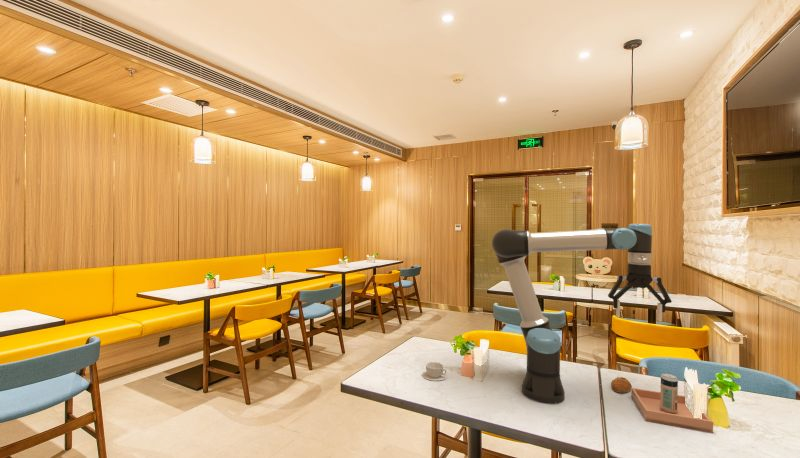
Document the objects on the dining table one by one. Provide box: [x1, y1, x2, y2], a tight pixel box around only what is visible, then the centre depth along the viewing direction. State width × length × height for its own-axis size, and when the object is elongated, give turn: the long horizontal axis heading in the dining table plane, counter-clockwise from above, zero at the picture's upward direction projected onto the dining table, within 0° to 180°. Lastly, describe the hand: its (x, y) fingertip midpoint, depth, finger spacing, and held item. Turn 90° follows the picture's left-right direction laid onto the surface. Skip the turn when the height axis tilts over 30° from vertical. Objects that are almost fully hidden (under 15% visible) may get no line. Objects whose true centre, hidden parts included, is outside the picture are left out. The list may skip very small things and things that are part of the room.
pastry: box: [610, 376, 633, 394], centre depth 137 cm, size 9×7×4 cm
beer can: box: [659, 372, 679, 413], centre depth 119 cm, size 5×5×12 cm
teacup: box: [422, 361, 447, 382], centre depth 145 cm, size 10×10×5 cm
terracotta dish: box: [630, 387, 714, 434], centre depth 119 cm, size 18×18×4 cm
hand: (638, 318), depth 134 cm, fingers open, 13 cm apart
